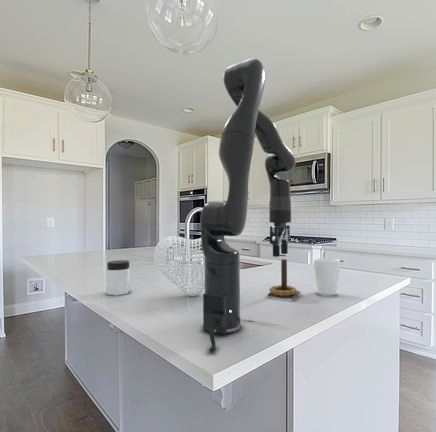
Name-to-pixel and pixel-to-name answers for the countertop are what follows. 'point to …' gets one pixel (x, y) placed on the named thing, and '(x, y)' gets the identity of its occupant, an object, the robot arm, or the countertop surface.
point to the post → (284, 280)
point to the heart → (170, 239)
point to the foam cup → (326, 275)
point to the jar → (118, 277)
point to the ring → (278, 291)
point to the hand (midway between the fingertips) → (280, 255)
